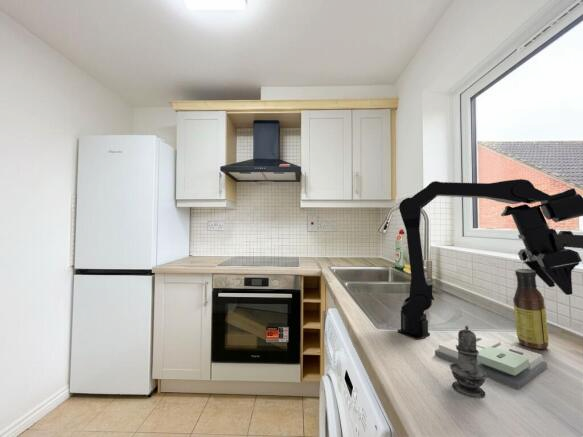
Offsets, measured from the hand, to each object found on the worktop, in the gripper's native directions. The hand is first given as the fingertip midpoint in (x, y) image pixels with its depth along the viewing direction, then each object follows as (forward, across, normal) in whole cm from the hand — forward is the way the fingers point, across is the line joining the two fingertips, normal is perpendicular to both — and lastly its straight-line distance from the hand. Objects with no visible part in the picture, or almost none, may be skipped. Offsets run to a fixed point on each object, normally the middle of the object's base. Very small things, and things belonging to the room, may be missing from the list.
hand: (560, 290), depth 64 cm
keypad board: (+11, -10, +20) cm, 25 cm away
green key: (+11, -15, +19) cm, 26 cm away
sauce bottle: (+14, +6, +8) cm, 18 cm away
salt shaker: (+9, -25, +25) cm, 37 cm away
